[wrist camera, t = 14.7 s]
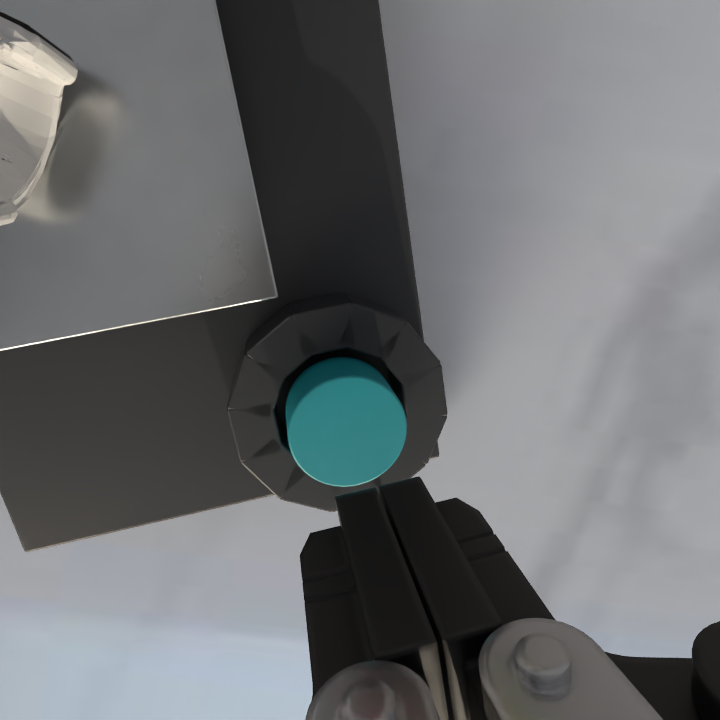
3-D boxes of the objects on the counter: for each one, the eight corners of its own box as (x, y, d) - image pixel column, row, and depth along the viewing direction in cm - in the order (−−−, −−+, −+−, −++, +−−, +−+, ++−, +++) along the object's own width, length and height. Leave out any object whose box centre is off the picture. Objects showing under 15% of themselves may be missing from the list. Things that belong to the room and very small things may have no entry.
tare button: (275, 368, 15) (276, 389, 13) (383, 346, 15) (398, 364, 13) (296, 467, 16) (300, 499, 14) (399, 444, 16) (414, 473, 14)
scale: (-175, -42, 13) (-320, -123, 10) (350, -102, 15) (374, -190, 11) (45, 522, 18) (-4, 594, 15) (425, 436, 19) (458, 484, 16)
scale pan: (-306, -91, 10) (-341, -108, 10) (186, -141, 11) (182, -159, 11) (-105, 367, 13) (-122, 375, 12) (278, 294, 14) (278, 298, 13)
